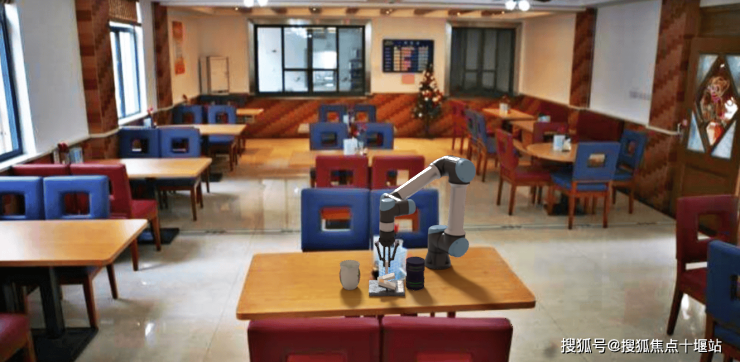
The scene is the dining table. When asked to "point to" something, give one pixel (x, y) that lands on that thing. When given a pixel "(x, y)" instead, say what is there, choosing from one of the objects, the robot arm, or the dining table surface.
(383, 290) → the breaker panel
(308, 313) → the dining table surface
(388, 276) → the paddle far
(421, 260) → the storage jar
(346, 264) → the pitcher
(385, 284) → the paddle near
